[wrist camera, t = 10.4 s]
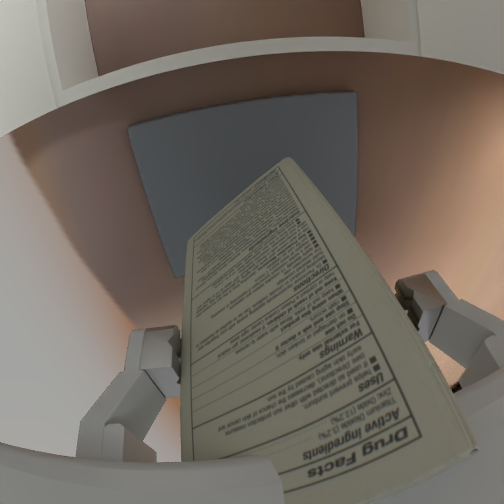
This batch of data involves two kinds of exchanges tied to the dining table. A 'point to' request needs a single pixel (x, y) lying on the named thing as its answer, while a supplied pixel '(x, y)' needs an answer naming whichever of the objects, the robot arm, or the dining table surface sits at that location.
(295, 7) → the dining table surface
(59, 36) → the carton
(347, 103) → the mat
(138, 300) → the dining table surface
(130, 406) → the robot arm
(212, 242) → the skincare box
